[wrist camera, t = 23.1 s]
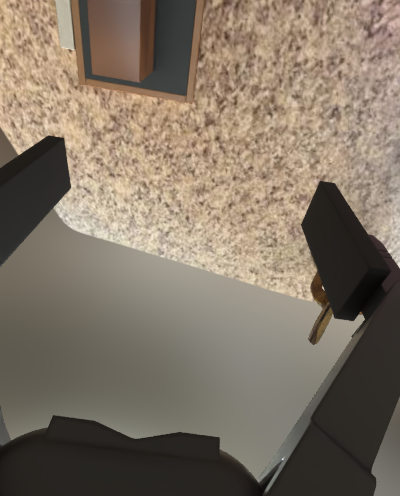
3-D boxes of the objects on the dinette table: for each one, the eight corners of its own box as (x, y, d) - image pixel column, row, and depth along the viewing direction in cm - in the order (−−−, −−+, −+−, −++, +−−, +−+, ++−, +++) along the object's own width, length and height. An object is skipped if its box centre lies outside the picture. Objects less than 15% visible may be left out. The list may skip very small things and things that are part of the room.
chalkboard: (61, -147, 26) (55, -154, 25) (218, -116, 26) (218, -121, 25) (82, 82, 37) (79, 84, 36) (192, 101, 37) (191, 104, 37)
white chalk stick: (73, -6, 32) (58, -9, 32) (69, -7, 31) (53, -10, 31) (78, 49, 35) (64, 46, 35) (74, 50, 34) (60, 47, 34)
